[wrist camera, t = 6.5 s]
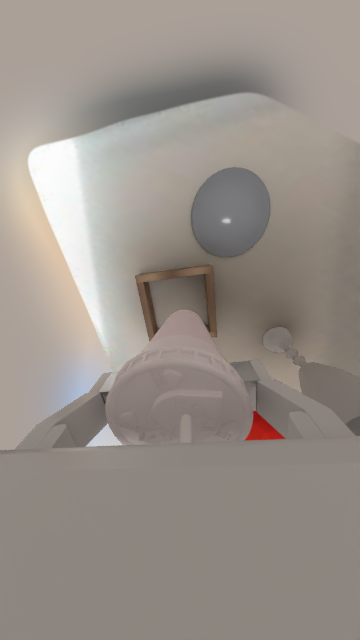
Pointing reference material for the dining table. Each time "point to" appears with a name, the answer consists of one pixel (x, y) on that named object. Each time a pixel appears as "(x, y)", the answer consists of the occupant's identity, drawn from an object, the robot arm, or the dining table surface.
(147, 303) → the wooden serving tray
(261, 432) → the tomato
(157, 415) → the smoothie
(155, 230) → the dining table surface
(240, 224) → the disc
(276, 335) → the chalice
